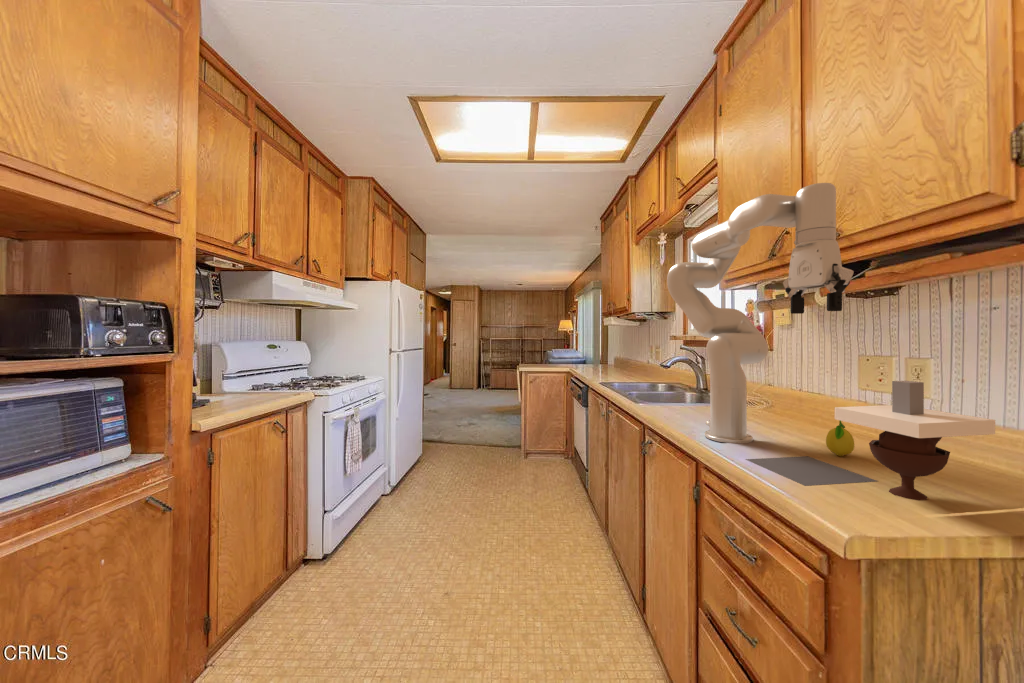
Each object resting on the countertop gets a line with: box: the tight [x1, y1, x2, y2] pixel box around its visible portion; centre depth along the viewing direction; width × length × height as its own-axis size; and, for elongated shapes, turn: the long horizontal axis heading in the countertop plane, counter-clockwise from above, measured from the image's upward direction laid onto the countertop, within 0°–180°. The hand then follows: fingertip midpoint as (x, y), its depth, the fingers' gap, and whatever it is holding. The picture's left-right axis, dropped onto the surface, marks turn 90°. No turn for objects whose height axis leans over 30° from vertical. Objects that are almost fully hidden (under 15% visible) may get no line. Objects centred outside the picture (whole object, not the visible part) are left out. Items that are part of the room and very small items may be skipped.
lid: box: [834, 380, 996, 438], centre depth 74 cm, size 15×15×8 cm
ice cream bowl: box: [868, 430, 951, 501], centre depth 74 cm, size 11×11×15 cm
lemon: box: [825, 420, 855, 457], centre depth 98 cm, size 7×6×10 cm
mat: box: [744, 455, 879, 487], centre depth 88 cm, size 17×17×1 cm
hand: (814, 312), depth 91 cm, fingers open, 9 cm apart
